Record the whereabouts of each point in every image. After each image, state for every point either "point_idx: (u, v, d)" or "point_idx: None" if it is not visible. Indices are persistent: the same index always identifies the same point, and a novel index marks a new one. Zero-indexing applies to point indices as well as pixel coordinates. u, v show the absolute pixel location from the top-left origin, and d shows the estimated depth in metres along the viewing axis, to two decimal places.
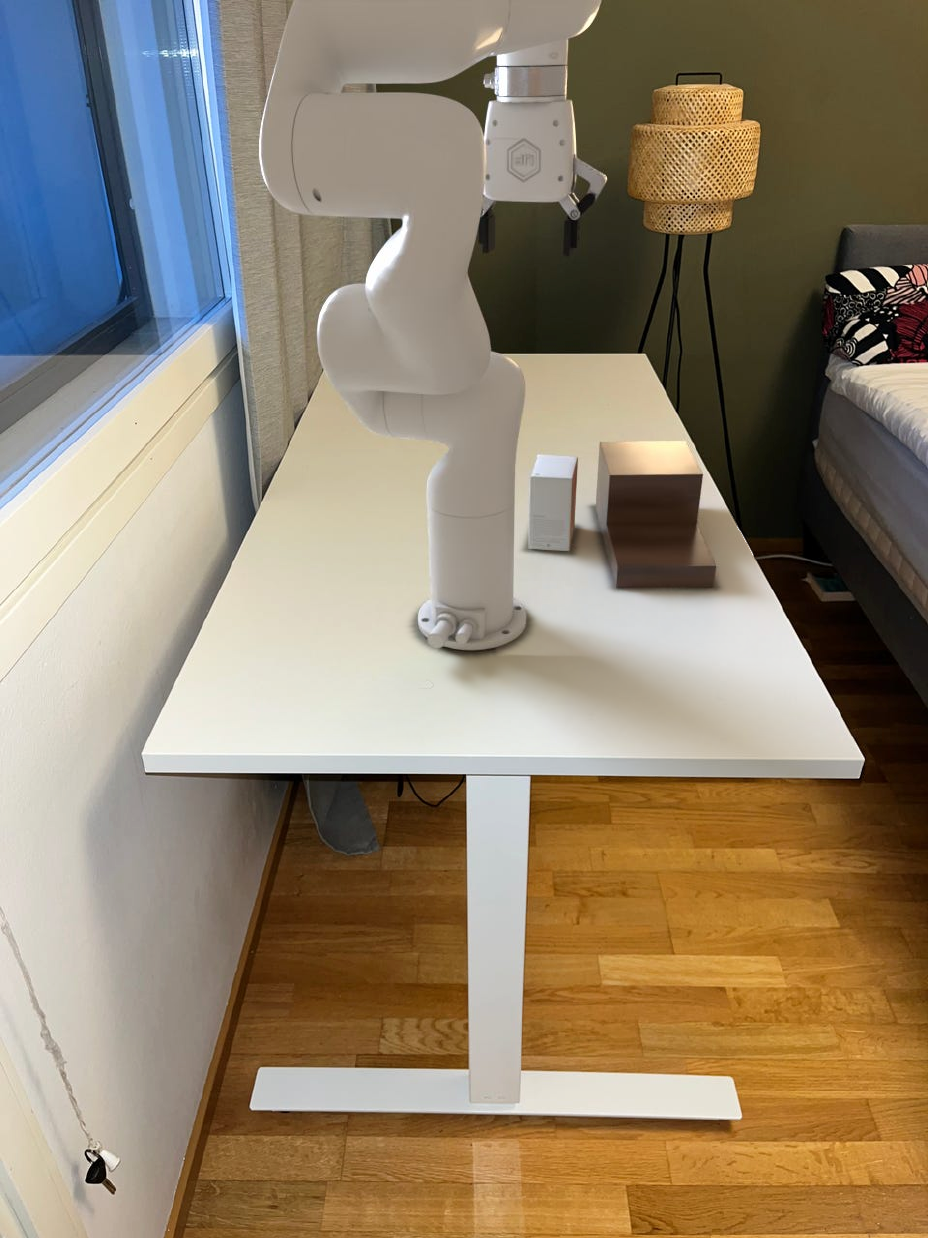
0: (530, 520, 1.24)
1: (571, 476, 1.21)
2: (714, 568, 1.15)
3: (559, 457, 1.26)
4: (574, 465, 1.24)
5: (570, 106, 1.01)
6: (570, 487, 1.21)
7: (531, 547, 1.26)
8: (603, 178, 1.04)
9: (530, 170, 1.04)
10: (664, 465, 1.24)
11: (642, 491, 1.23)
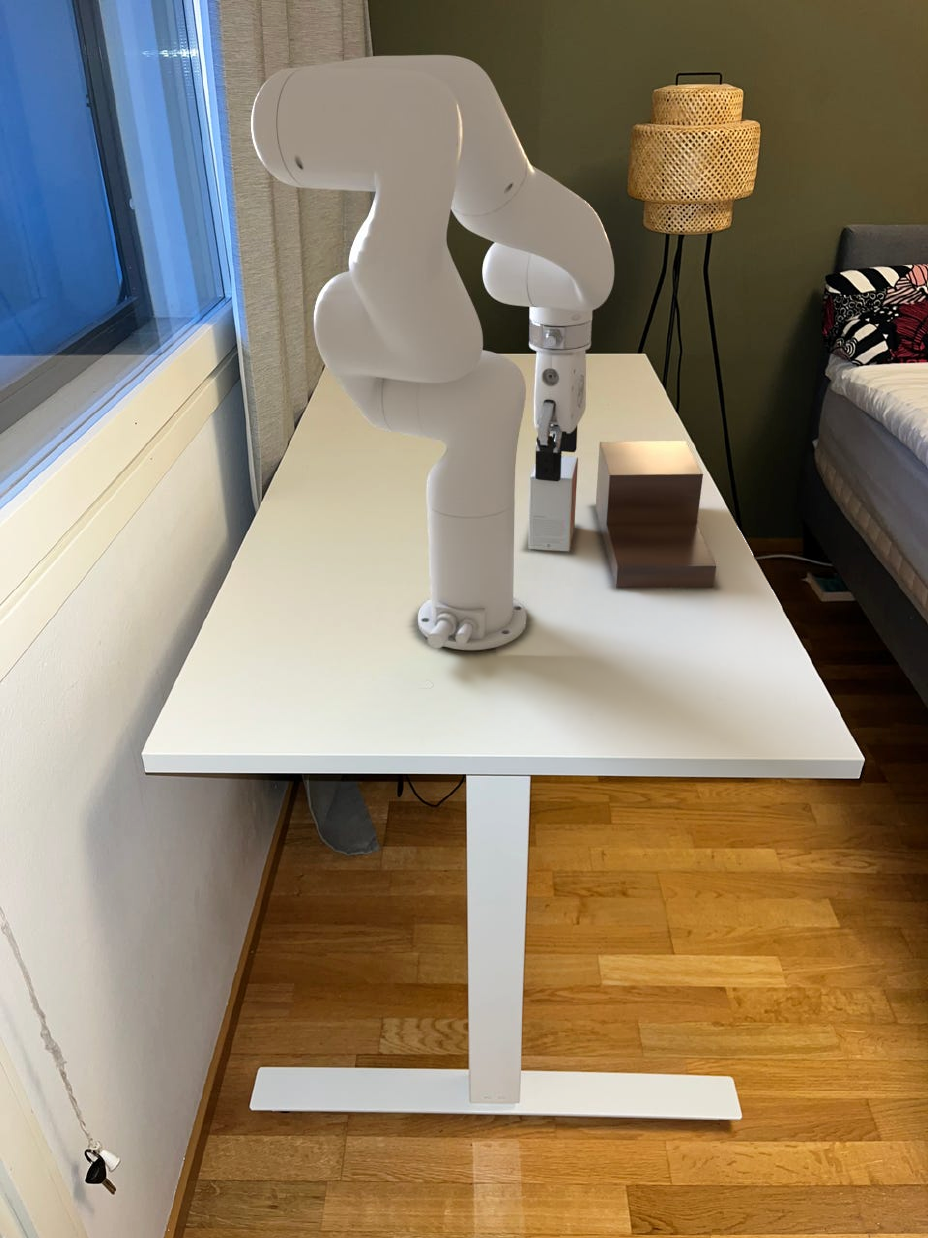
0: (530, 520, 1.24)
1: (571, 476, 1.21)
2: (714, 568, 1.15)
3: None
4: (574, 465, 1.24)
5: None
6: (570, 487, 1.21)
7: (531, 547, 1.26)
8: None
9: (580, 397, 1.19)
10: (664, 465, 1.24)
11: (642, 491, 1.23)
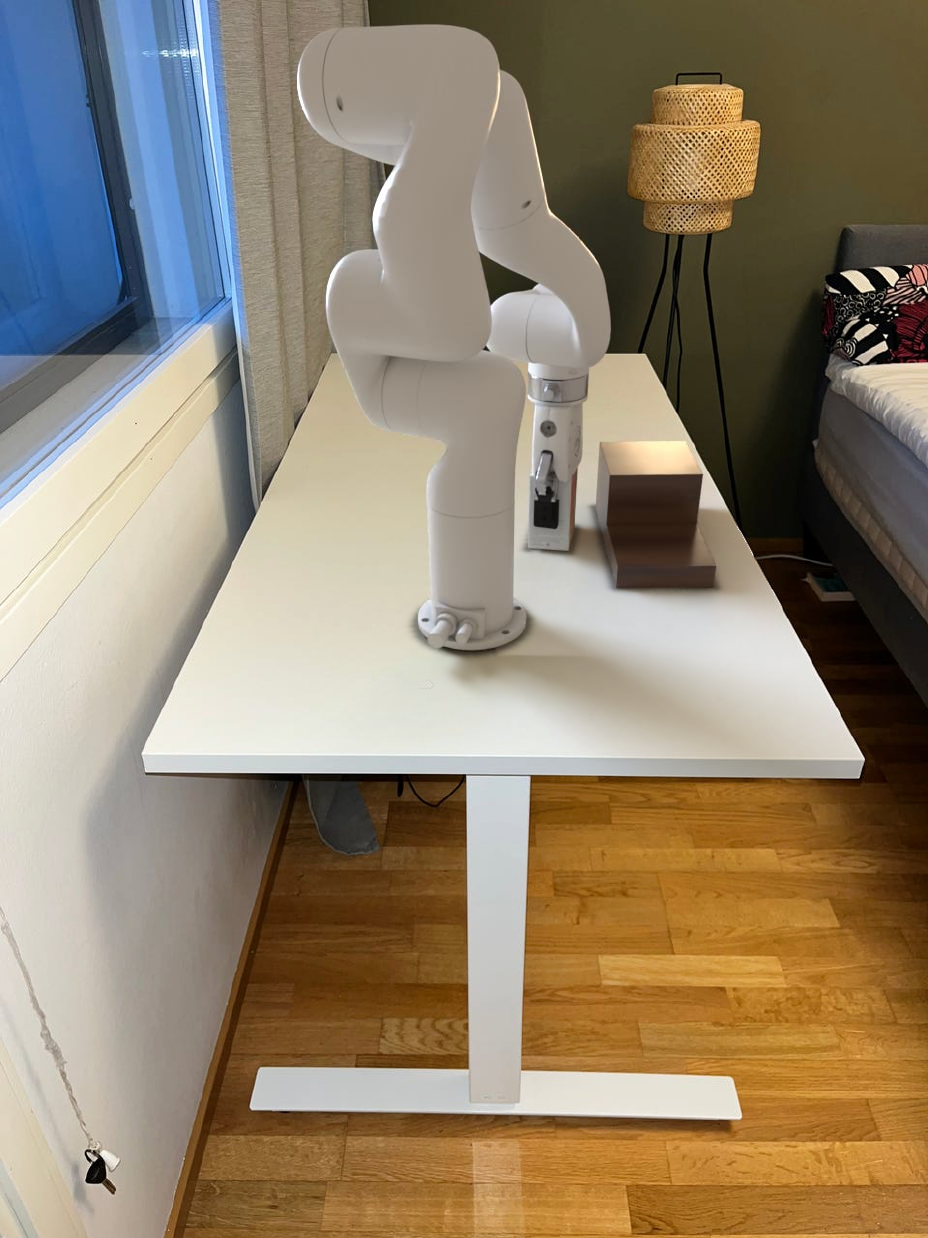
0: (530, 519, 1.24)
1: (571, 476, 1.21)
2: (714, 568, 1.15)
3: None
4: None
5: None
6: (569, 487, 1.21)
7: (531, 546, 1.26)
8: None
9: (577, 446, 1.22)
10: (664, 465, 1.24)
11: (642, 491, 1.23)
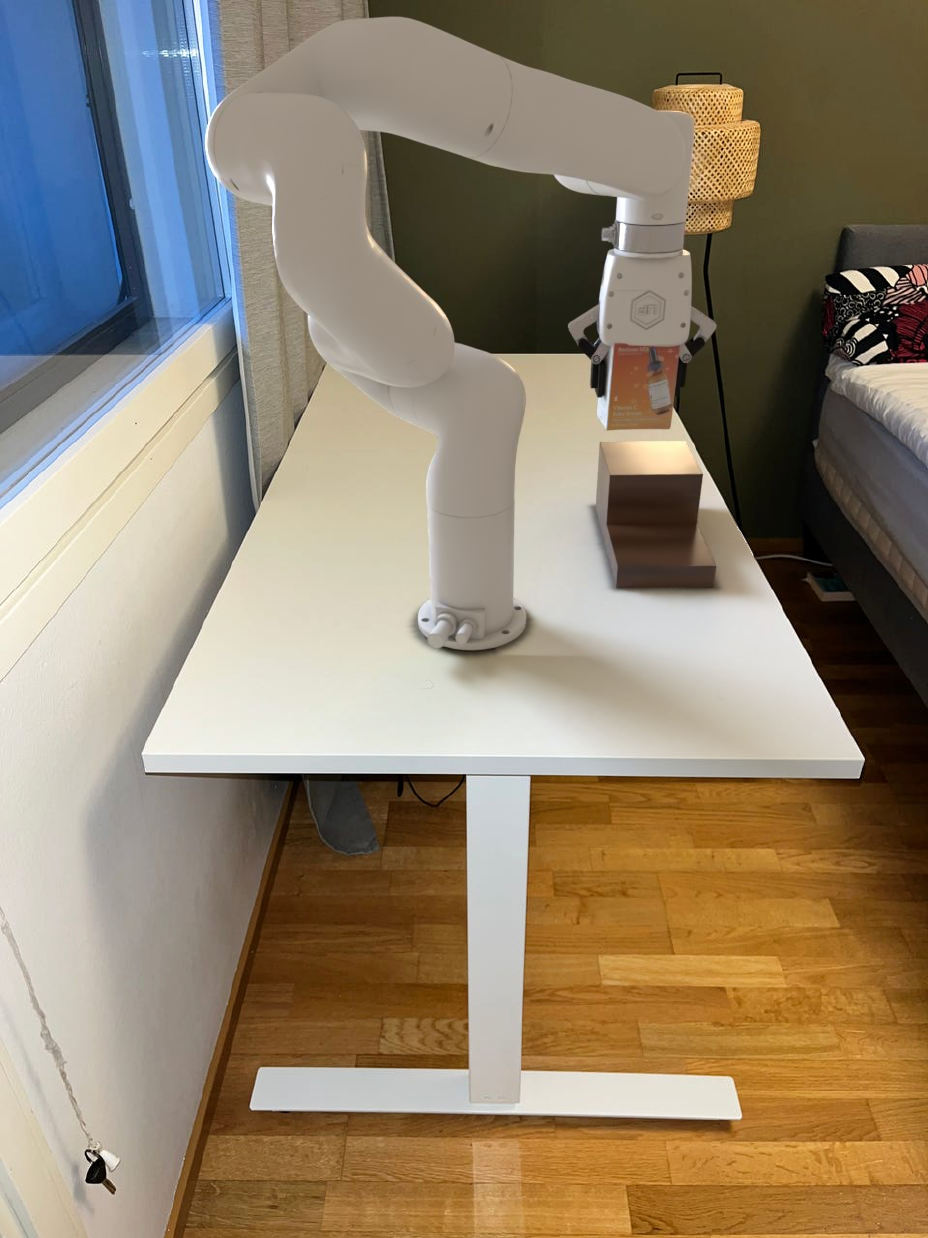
0: None
1: None
2: (714, 568, 1.15)
3: None
4: None
5: None
6: (612, 353, 1.08)
7: (597, 414, 1.16)
8: (715, 325, 1.08)
9: (653, 318, 1.06)
10: (664, 465, 1.24)
11: (642, 491, 1.23)
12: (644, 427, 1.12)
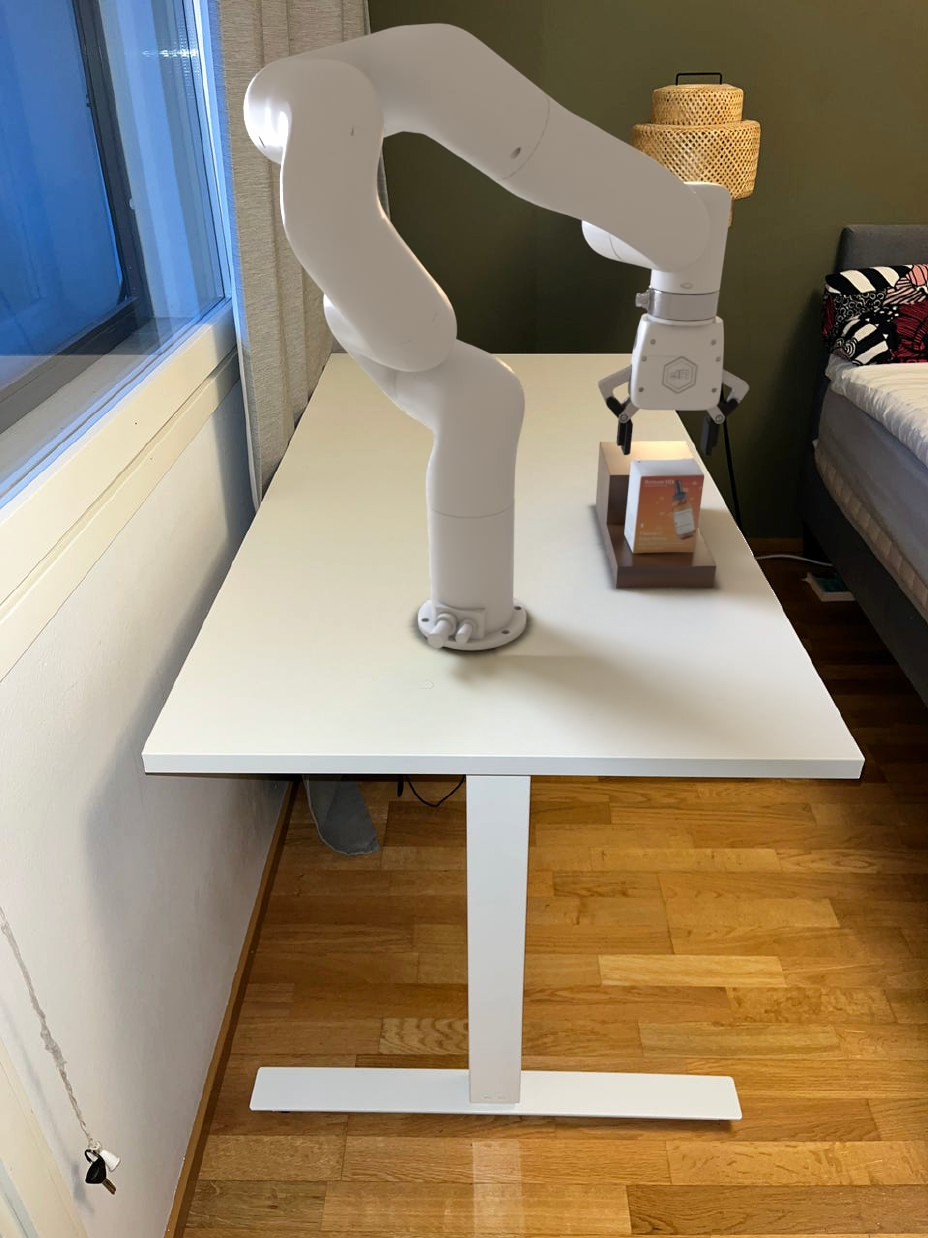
0: (627, 506, 1.20)
1: (645, 475, 1.13)
2: (714, 568, 1.15)
3: (692, 466, 1.15)
4: (677, 474, 1.13)
5: None
6: (639, 485, 1.13)
7: None
8: (747, 386, 1.09)
9: (684, 383, 1.07)
10: None
11: None
12: (669, 550, 1.18)
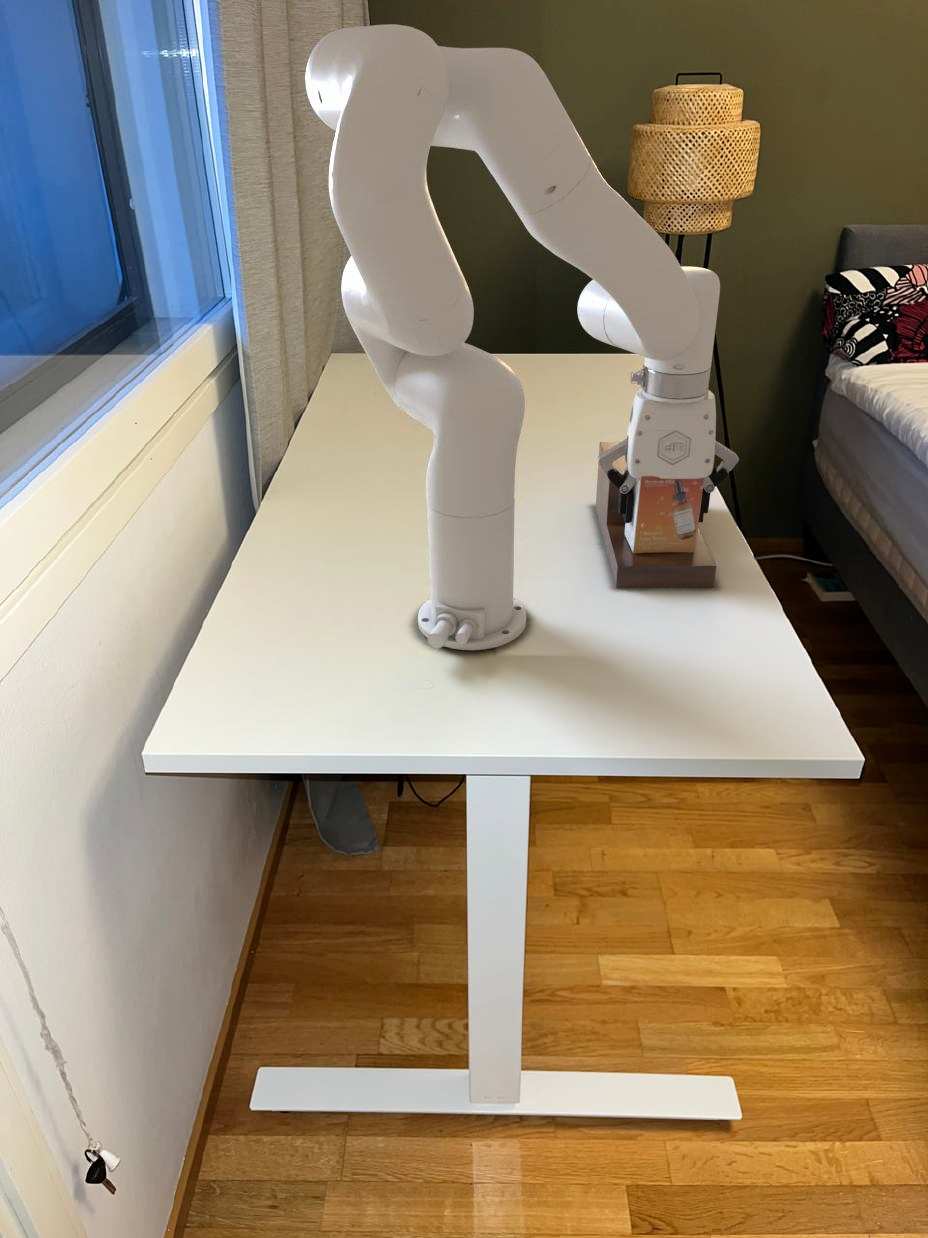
0: None
1: None
2: (714, 568, 1.15)
3: None
4: None
5: None
6: (639, 485, 1.14)
7: (625, 534, 1.22)
8: (737, 458, 1.14)
9: (679, 455, 1.11)
10: None
11: None
12: (669, 550, 1.18)
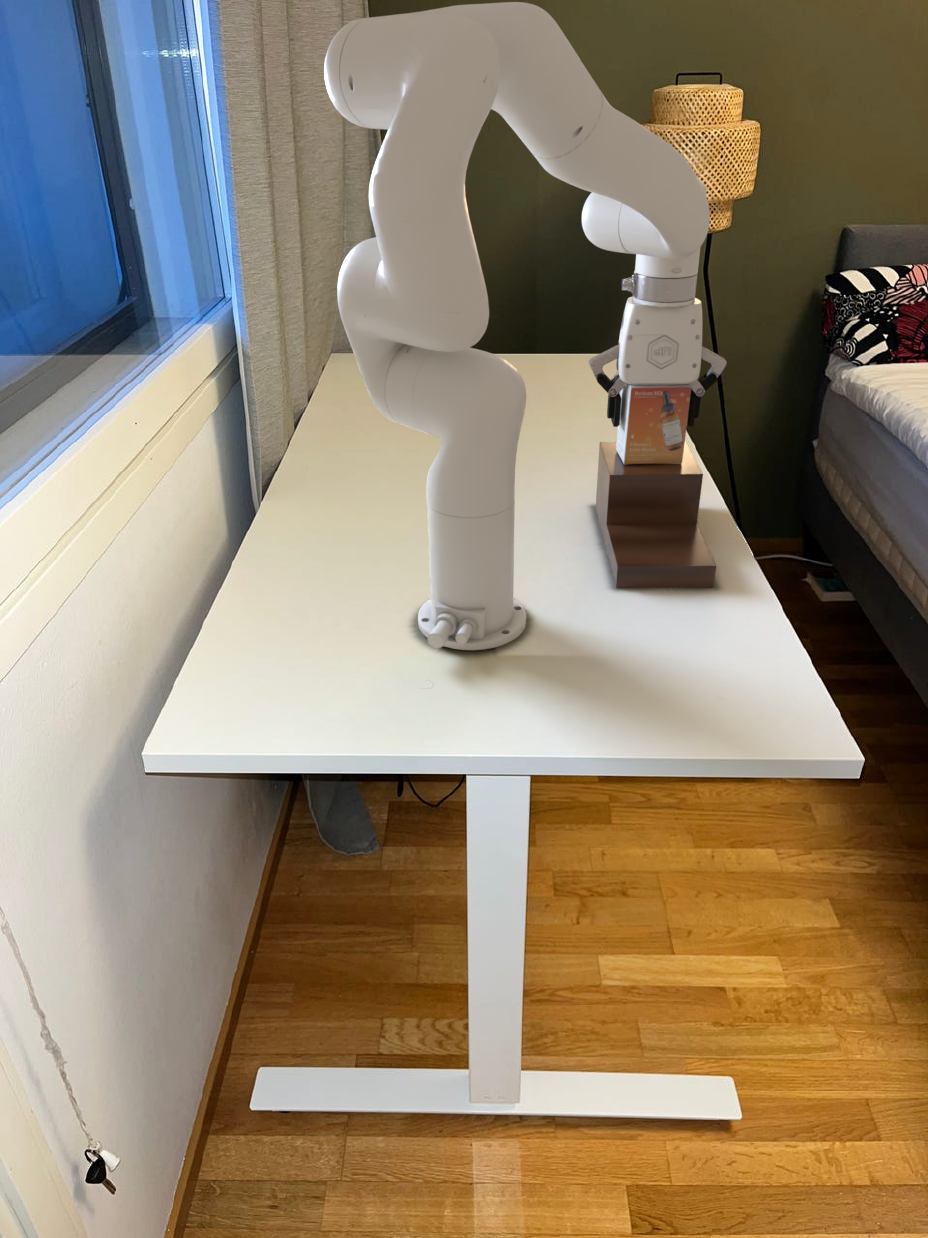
0: None
1: (635, 387, 1.19)
2: (714, 568, 1.15)
3: None
4: (665, 386, 1.20)
5: None
6: (629, 396, 1.20)
7: (616, 449, 1.29)
8: (725, 361, 1.20)
9: (667, 359, 1.18)
10: (664, 465, 1.24)
11: (642, 491, 1.23)
12: (658, 461, 1.25)
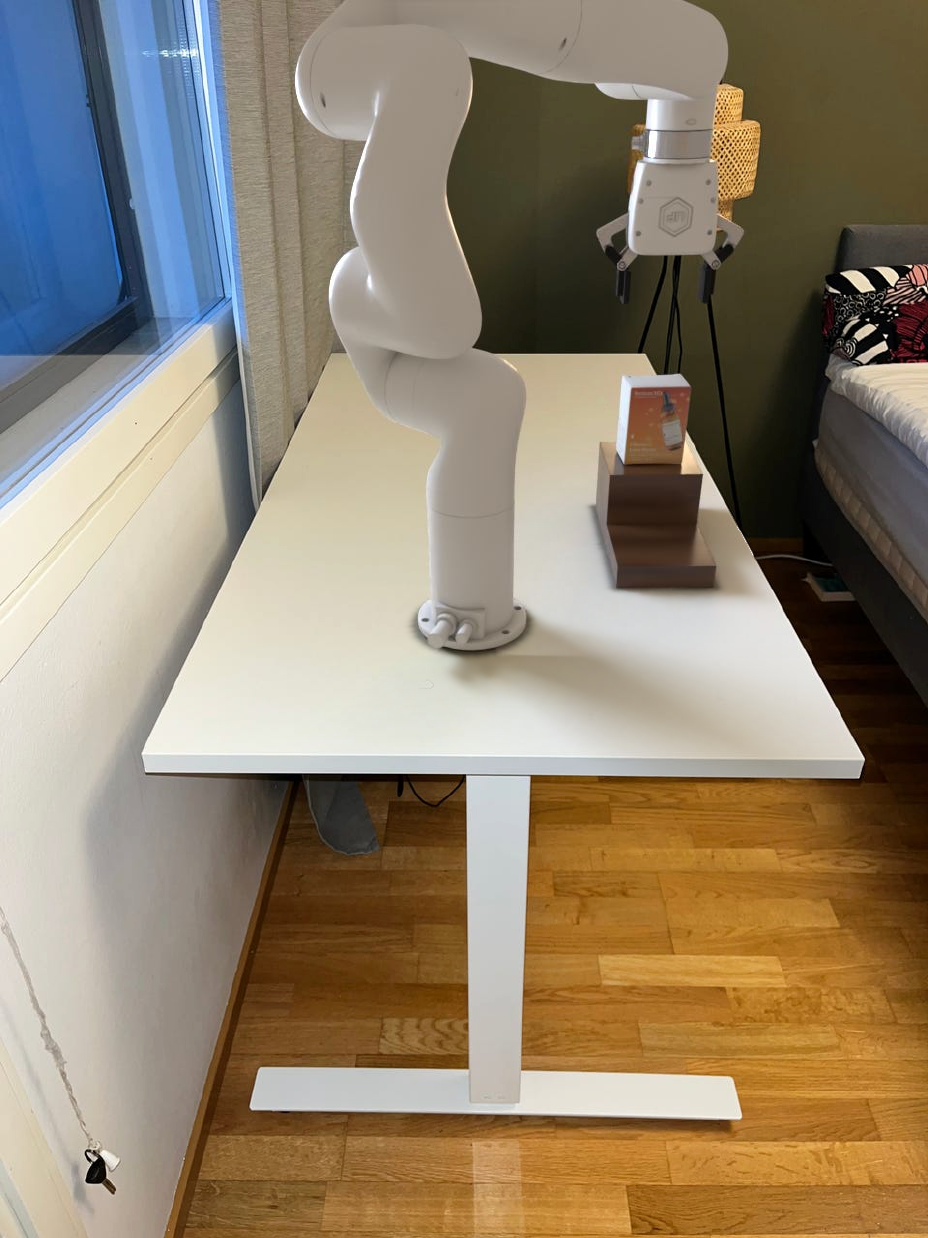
0: None
1: (635, 387, 1.19)
2: (714, 568, 1.15)
3: (680, 380, 1.22)
4: (665, 386, 1.20)
5: None
6: (629, 396, 1.20)
7: (616, 449, 1.29)
8: (742, 230, 1.12)
9: (680, 226, 1.10)
10: (664, 465, 1.24)
11: (642, 491, 1.23)
12: (658, 461, 1.25)
